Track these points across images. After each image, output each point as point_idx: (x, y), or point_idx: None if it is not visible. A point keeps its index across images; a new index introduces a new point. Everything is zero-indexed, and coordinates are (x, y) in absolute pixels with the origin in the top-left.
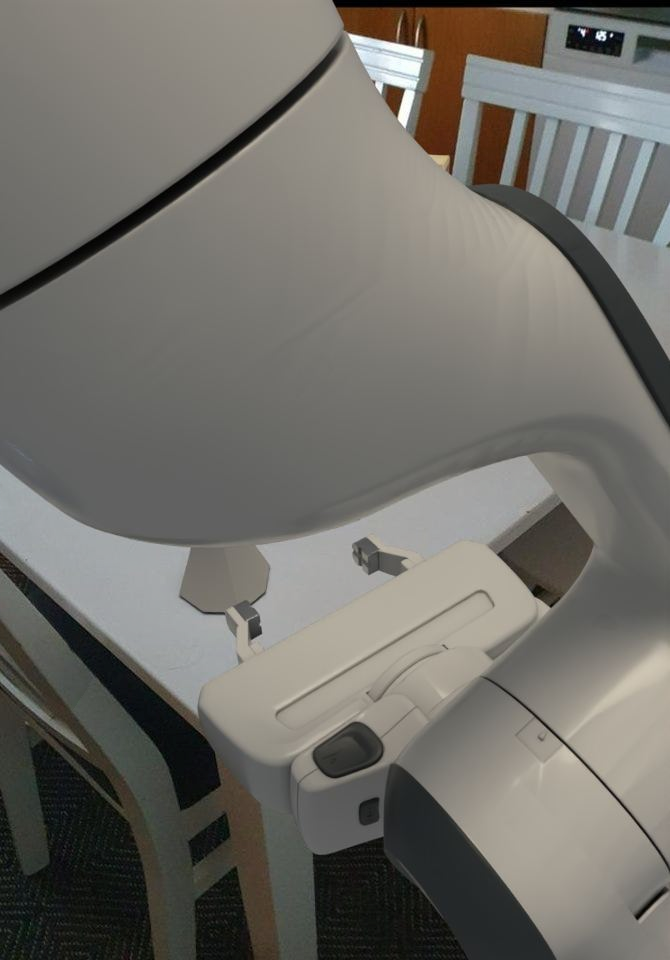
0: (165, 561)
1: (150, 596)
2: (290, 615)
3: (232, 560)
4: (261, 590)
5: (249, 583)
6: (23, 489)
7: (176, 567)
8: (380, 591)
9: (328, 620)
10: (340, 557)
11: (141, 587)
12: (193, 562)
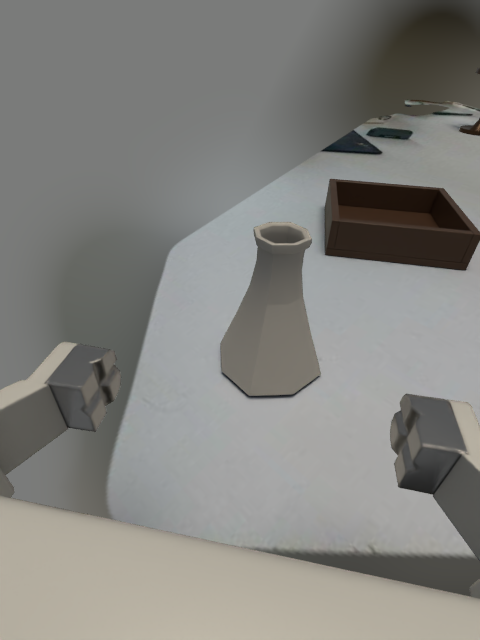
0: None
1: (202, 331)
2: (295, 438)
3: (269, 335)
4: (288, 390)
5: (277, 373)
6: (213, 228)
7: None
8: (364, 616)
9: (103, 553)
10: None
11: (204, 320)
12: (237, 316)
